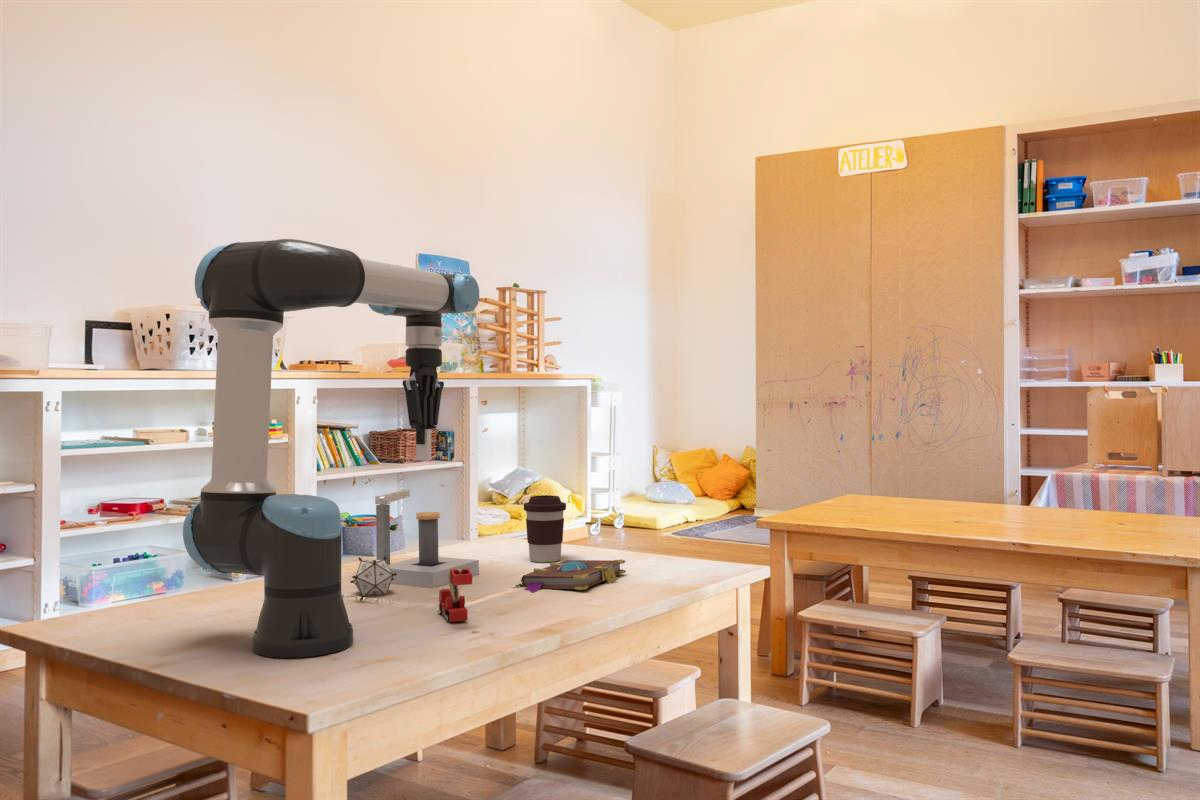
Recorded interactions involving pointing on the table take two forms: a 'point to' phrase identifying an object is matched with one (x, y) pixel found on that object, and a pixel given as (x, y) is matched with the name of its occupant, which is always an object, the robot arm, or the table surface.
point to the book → (573, 574)
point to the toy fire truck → (454, 596)
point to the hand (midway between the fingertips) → (423, 460)
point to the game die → (373, 577)
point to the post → (383, 532)
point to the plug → (428, 538)
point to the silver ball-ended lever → (392, 497)
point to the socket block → (429, 571)
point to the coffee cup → (545, 527)
